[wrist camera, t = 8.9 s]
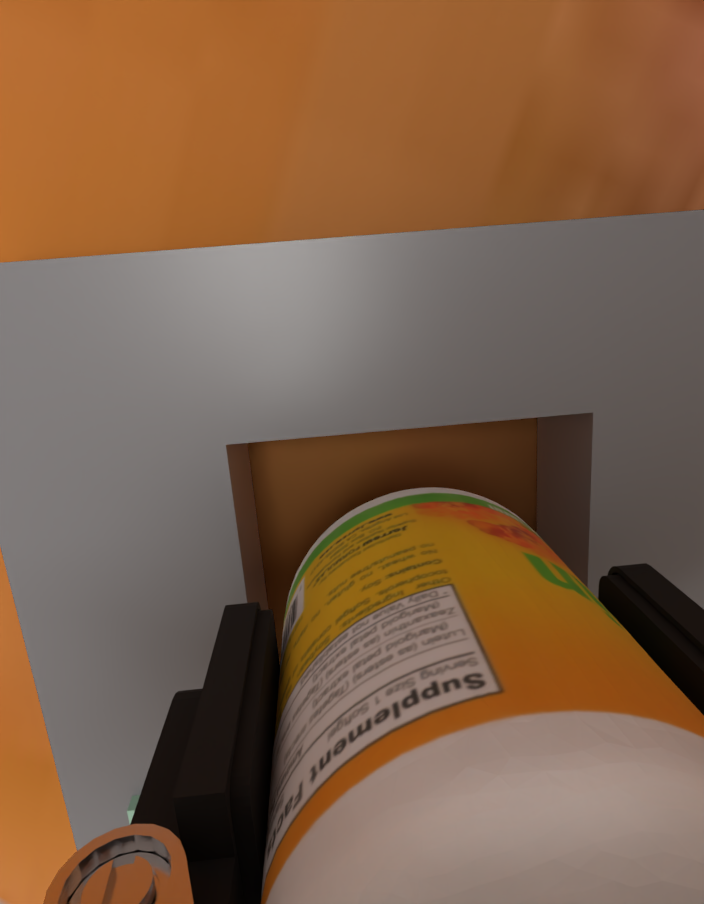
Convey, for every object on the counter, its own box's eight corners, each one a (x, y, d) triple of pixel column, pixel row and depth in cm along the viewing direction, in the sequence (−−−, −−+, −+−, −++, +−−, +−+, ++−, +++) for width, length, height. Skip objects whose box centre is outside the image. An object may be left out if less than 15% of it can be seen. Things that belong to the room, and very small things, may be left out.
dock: (734, 217, 14) (866, 195, 10) (688, 734, 17) (775, 837, 14) (15, 271, 13) (-86, 267, 10) (128, 795, 17) (83, 918, 14)
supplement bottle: (602, 631, 12) (1480, 1678, 3) (386, 767, 13) (580, 2008, 4) (463, 424, 11) (1280, 1170, 2) (228, 585, 12) (-113, 1819, 2)
